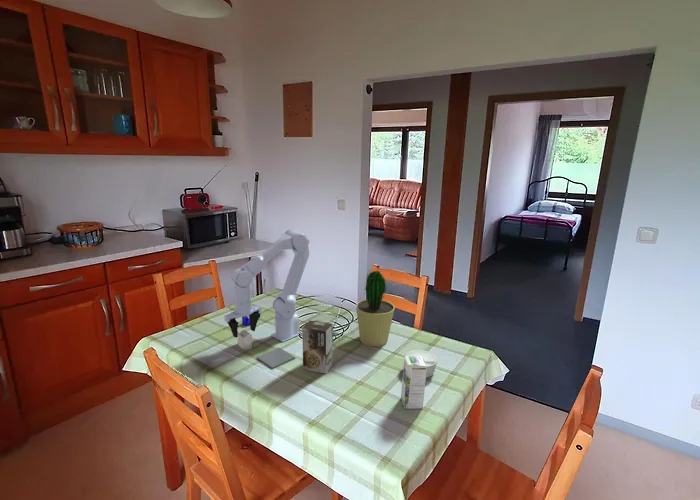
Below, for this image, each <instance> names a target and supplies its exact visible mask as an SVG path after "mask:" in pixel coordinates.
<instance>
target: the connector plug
mask: <svg viewBox="0 0 700 500" xmlns="http://www.w3.org/2000/svg"><path fill="white" fill-rule="evenodd" d="M237 346H238V347H239V348H241V349H242V350H247V351H248V350H250V349H252V348H253V337H252V334H251V333H250V332H249V331H247V330H246V329H243V330H240V331H238V337H237Z"/></svg>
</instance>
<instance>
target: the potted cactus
mask: <svg viewBox="0 0 700 500" xmlns="http://www.w3.org/2000/svg"><path fill="white" fill-rule="evenodd" d="M364 282H365V283H364V284H365V286H364V288H363V290H364V291H365V292H364V295H366V299H363V300H359V301H358V302H357V303H356V305H355V306H356V315H357V324H358V327H357V328H358V335H359V340H360V342H361V343H362V344H363V345H366V346H369V347H381V346H384V345H386V344H387V343H388V341H389V340H388V339H389V336H390V331H391V325H392V322H393V321H392V320H393V316H394V311H395V308H396V307H395V305H394V304H393V303H392V302H390V301H387V300H384V298H385V293H386V291H387V288H388V287H387V286H388V285H387V284H388V282H387V281H386V278H385V275H383V273H381V271H380V270H372V271H370V272H369V273H368V275H366V280H364Z"/></svg>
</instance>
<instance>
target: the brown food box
mask: <svg viewBox="0 0 700 500" xmlns="http://www.w3.org/2000/svg"><path fill="white" fill-rule="evenodd" d="M301 330H302V331H301V333H302V337H301V338H302V369H303V370H306V371H311V372H316V373H321V374H324V375H326V374H327V373H329V371H330V369H331V368H332V367H333V338H334V337H333V332H334V331H333V323H329V322H324V321H323V322H322V321H318V320H317V321H316V320H309V321H307V322H306V323H305V324H304V325H303V326H302V327H301Z"/></svg>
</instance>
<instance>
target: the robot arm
mask: <svg viewBox="0 0 700 500" xmlns="http://www.w3.org/2000/svg"><path fill="white" fill-rule="evenodd" d="M309 244H310V240H309V239H308V236H307V235H306V234H305V233H303V232H299V231H297V230H295V229H294V228H290V229H287V230H286V231H285V232H284V233H282V234H281V235H280V236H279V238H278V239H277V240H276V241H275V242H274V243H273V244H271V245H270V246H269V247H268V248H267V249H266V250H265V251H264V252H263V253H262V254H259V255H258V254H257V255H255V256H254V255H253V256H251V257H250V260H248V262H247V263H245V264H244V265H241V266H240V268H237V269H235V270H234V272H232V273H233V274H231V280H232V281H233V284H234V291H233V292H234V308H235V310H233V311H232V312H230V313H228V314H225V315H224V317H223V318H224V322H226V323H227V324H228V326H229V329H230V330H231V333H232V336H233V337H234V338H236V339H238V332H239V331H238V329H239V328H238V327H239V321H237V320H236V319H239V318H242V317H243V316H248V319H250V326H249V328H250V331H252V332H255V331H256V328H257V323H258V322H259V320H260V318H261V313H260V312H262V307H261V306H260V305H254V306H252V304H251V301H252V300H251V297H252V296H251V284H252V282H253V279H254V278H255V277H256V276H257V275H258V274H260V273H261V272H262V271H263V270H265V268H267V265H268V262H269V261H270V260H272V259H273V258H274V257H276V256H277V255H278V254H280V253H281V252H282V251H283V250H292V252H293V254H294V256H293V260H292V263H291V266H290V268H289V271H288V273H287V276H286V279H285V283H284V284H283V285H284V286H283V288H282V290H281V291H280V292H279V293H278V294H277V297H276V298H274V300H273V301H272V308H273V310H274V311H275V314H274V326H275V329H274V330H275V331H274V333H271V334H270V336H271V337H273V338H274V339H277V340H278V341H280V342H286V341H288V340H290V339H293V338H296V337H298V336H300V335H299V334H298V332H299V333H300V318H299V315H298V314H297V313H296V310H297V309H296V306H297V305H296V304H297V299H296V293H297V291H298V288H299V285H300V282H301V279H302V277H303V273H304V271H305V268H306V265H307V262H308V259H309V256H310V249H309V247H310V246H309Z"/></svg>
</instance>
